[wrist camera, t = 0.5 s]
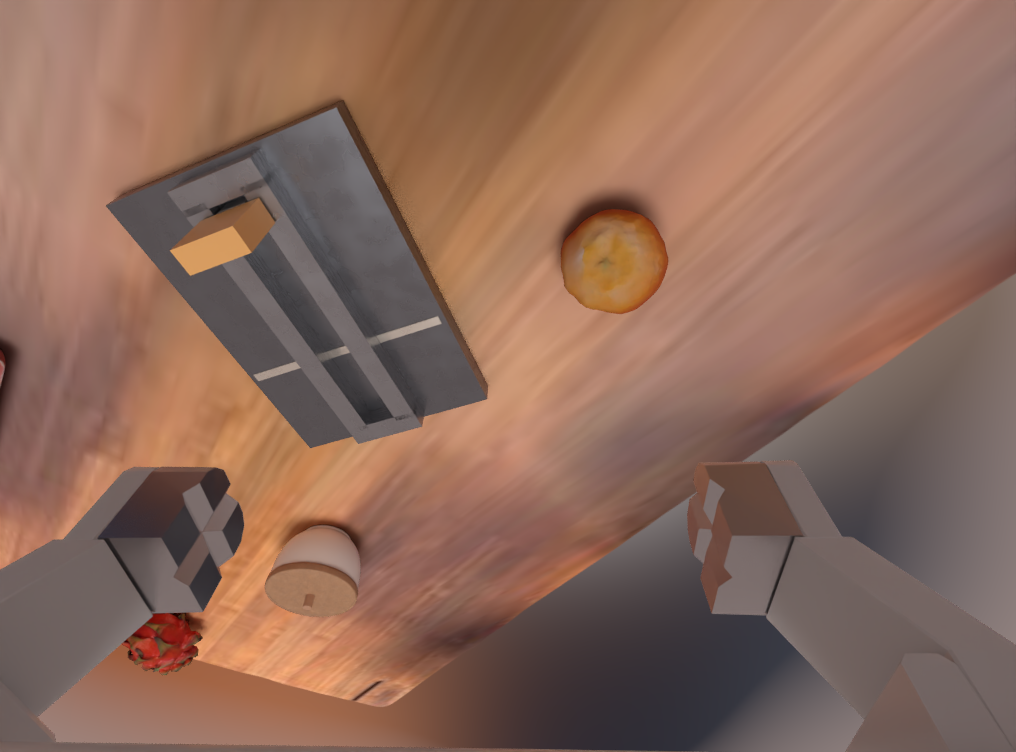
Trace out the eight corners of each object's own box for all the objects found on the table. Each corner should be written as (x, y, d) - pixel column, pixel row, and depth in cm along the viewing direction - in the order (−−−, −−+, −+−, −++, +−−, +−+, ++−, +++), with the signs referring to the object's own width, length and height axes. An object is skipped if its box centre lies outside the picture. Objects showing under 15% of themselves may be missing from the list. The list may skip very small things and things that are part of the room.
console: (120, 195, 44) (90, 216, 41) (343, 100, 39) (328, 115, 36) (315, 434, 60) (304, 462, 57) (487, 385, 56) (486, 412, 53)
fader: (212, 209, 42) (169, 250, 37) (268, 187, 41) (232, 225, 36) (229, 233, 43) (190, 275, 38) (283, 211, 42) (251, 252, 37)
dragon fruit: (217, 622, 89) (146, 586, 86) (216, 635, 81) (138, 597, 78) (180, 676, 86) (105, 640, 82) (175, 695, 78) (92, 657, 75)
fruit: (614, 323, 49) (594, 340, 42) (561, 251, 50) (532, 256, 42) (693, 266, 46) (686, 274, 39) (636, 189, 46) (618, 183, 39)
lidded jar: (317, 569, 77) (297, 637, 69) (267, 525, 70) (239, 595, 63) (384, 551, 74) (371, 620, 67) (338, 504, 68) (317, 574, 60)
